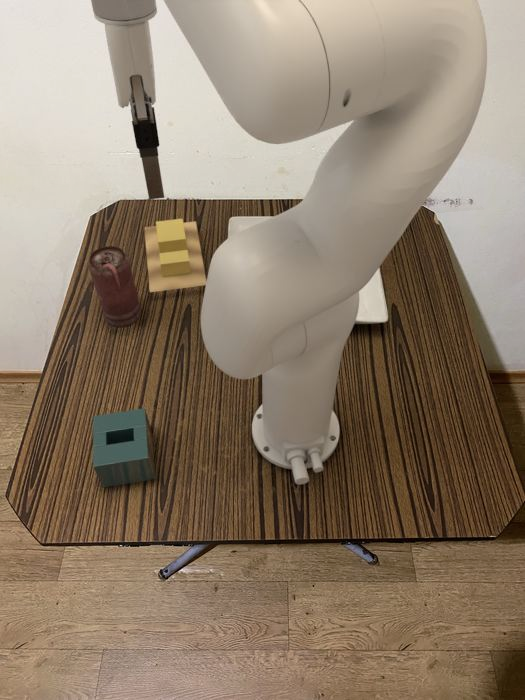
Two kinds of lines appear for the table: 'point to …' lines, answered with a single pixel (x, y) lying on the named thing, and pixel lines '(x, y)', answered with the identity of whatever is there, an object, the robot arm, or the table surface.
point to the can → (115, 286)
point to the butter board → (176, 281)
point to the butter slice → (174, 263)
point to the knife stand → (123, 448)
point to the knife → (152, 172)
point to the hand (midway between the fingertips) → (147, 140)
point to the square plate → (369, 295)
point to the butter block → (171, 235)
